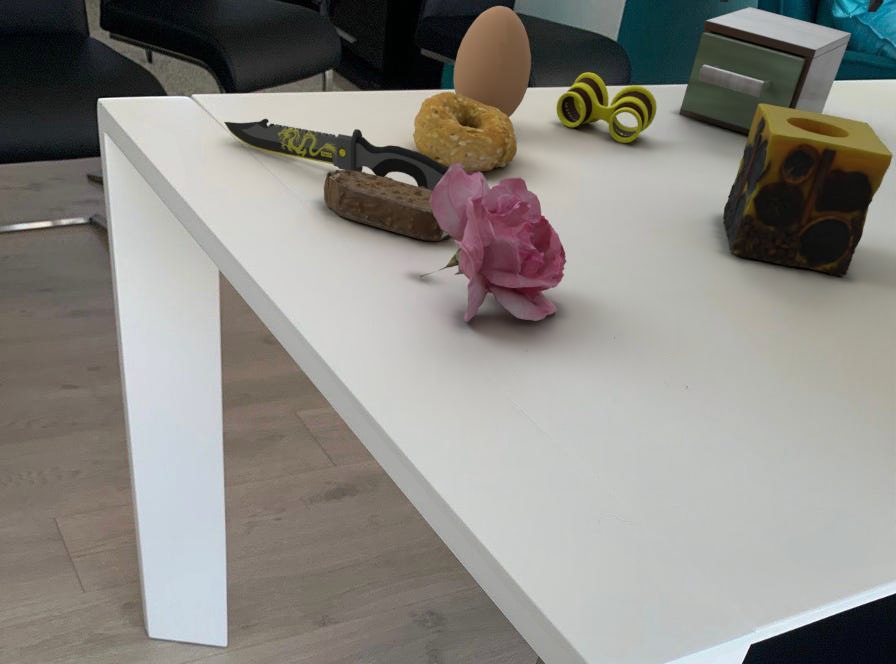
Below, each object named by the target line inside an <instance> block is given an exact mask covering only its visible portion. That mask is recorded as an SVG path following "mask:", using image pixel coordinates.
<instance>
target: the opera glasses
mask: <svg viewBox="0 0 896 664" xmlns="http://www.w3.org/2000/svg"><path fill="white" fill-rule="evenodd" d="M623 113H628V114H630V115H632V116H633V117H634V119H635V120H636V122H637V126H633V127H632V126H630V127H629V126H626V125H624V124H622V123H621V122H620V121H619V120H618V117H617V116H618V115H620V114H623ZM556 114H557V117H558V120H559V121H560V122H561V123H562V124H563V125H564V126H565V127H568V128H576V127H578V126H580V125H584V124H594V123H597V122H599V121H600V120H601V121H603V122H606V123H607V124H608V131H609V134H610V136H611V137H612V138H613V139H614V140H615V141H616V142H619V143H621V144H627V143H631V142H633V141H635V140H636V139H637V138H638V137H639V135H640V134H641V132H643V131H645V130H646V129H647V128H649V127H650V126H651V124H652V123H653V122H654V120H655V118H656V114H657V101H656V99H655V96H654V94H653V93H652V92H651V91H650V90H649V89H647V88H646V87H644V86H641V85H629V86H626V87H623V88H621V90H619V91H618V92H617V93H616V94H615V95H614V96H613V98H612V100H611V102H610V106H609V92H608V88H607V86H606V84H605V82H604V81H603V79H602V78H601V76H599V75H598V74H596V73H593V72H590V71H589V72H587V71H586V72H583V73H581V74H579V76H578V77H577V78H576V79H575V81H574V82H573V84H572V85H571V86H570V87H569V88H568V90H567V91H566V92H565V93H563V94H561V95H560V97H559V98H558V99H557V103H556Z"/></svg>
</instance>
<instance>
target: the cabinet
mask: <svg viewBox="0 0 896 664" xmlns="http://www.w3.org/2000/svg"><path fill="white" fill-rule="evenodd" d="M705 32H709V33H713V34H716V35H717V34H723V35H727V36H730V37H734V38H738V39H741V40H745V41H749V42H752V43H756V44H760V45H763V46H767V47H771V48H774V49H778V50H782V51H785V52H789V53H793V54H796V55H800V56H804V57H805V58H804V59H805V63H804V66H803V68H802V71H801V74H800V77H799V80H798V83H797V86H796V88H795V91H794V94H793V97H792V100H791V103H790V106H789V108H791V109H796V110H802V111H808V112H814V113H819V114H823V112H824V109H825V106H826V103H827V101H828V97H829V95H830V92H831V90H832V87H833V84H834V82H835V79H836V77H837V73H838V71H839V68H840V66H841V63H842V60H843V58H844V55H845V52H846V50H847V46H848V43H849V41H850V38H851V35H852V33H851V32H847V31H843V30H839V29H835V28H832V27H829V26H824V25H820V24H817V23H812V22H808V21H805V20H800V19H797V18H794V17H789V16H785V15H781V14H777V13H774V12H769V11H766V10H763V9H758V8H755V7H751V6H749V7H746V8H742V9H738V10H736V11H733V12H730V13H727V14H723V15H720V16H717V17H713V18H710V19H707V20H705V22H704V26H703V29H702V33H701V37H700V40H699V43H698V47H697V50H696V54H695V57H694V59H693V64H692V68H691V71H690V75H689V78H688V81H687V85H686V87H685V88H686V89H685V93H684V95H683V99H682V103H681V106H680V109H679V113H678V114H679V115H680V116H681V115H682V116H686V117H688V118H691V119H694V120H698V121H702V122H704V123H708V124H712V125H714V126H718V127H721V128H724V129H727V130H732V131H735V132H737V133H741V134H744V135H747V136H749V132H750V129H746V128H743V127H740V126H736V125H733V124H730V123H726V122H723V121H720V120H716V119H713V118H710V117H706V116H703V115H700V114H697V113H693V112H690V111H687V110H683V109H682V105H683V101H684V98H685V94H686V91H687V87H688V84H689V80H690V77H691V73H692V70H693V66H694V63H695V59H696V56H697V52H698V49H699V45H700V42H701V38H702V35H703V33H705Z"/></svg>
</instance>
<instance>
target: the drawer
mask: <svg viewBox="0 0 896 664" xmlns="http://www.w3.org/2000/svg"><path fill="white" fill-rule="evenodd" d="M701 36H702V38H701V37H700V39H701V42H700V41H699V43H700V45H699V44H698V46H699V49H698V48H697V50H698V52H697V51H696V53H697V56H696V55H695V57H696V59H695V58H694V60H695V63H694V62H693V64H694V66H693V65H692V67H693V70H692V69H691V71H692V73H691V72H690V74H691V77H690V76H689V78H690V80H689V79H688V81H689V84H688V83H687V85H688V87H687V86H686V88H687V91H686V90H685V92H686V94H685V93H684V95H685V98H684V97H683V99H684V101H683V100H682V102H683V105H682V104H681V106H682V109H683V110H687V111H690V112H693V113H697V114H700V115H703V116H706V117H710V118H713V119H716V120H720V121H723V122H726V123H730V124H733V125H736V126H740V127H743V128H746V129H751V125H752V122H753V119H754V116H755V113H756V110H757V107H758V104H769V105H774V106H779V107H785V108H789V106H790V103H791V100H792V97H793V94H794V91H795V88H796V86H797V83H798V80H799V77H800V74H801V71H802V68H803V66H804V63H805V59H804V58H805V57H804V56H800V55H796V54H793V53H789V52H785V51H782V50H778V49H774V48H771V47H767V46H763V45H760V44H756V43H752V42H749V41H745V40H741V39H738V38H734V37H730V36H727V35H723V34H717V35H716V34H713V33H709V32H705V33H703V35H702V34H701Z"/></svg>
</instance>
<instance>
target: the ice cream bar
mask: <svg viewBox="0 0 896 664" xmlns="http://www.w3.org/2000/svg"><path fill="white" fill-rule="evenodd" d="M432 192H433V191H432V190H429V189H426V188H425V187H424V186H421V187H418V185H413V184H410V183H406V182H404V181H400V180H396V179H395V180H394V178H392V177H388V176H385V177H381V176H377V175H375V174H374V173H373V174H372V173H368V172H365V171H362V172H357V171H350V170H343V169H336V170H335V171H328V172H327V173H326V177H325V181H324V186H323V200H324V203H325V205H327V208H328V209H331V210H332V211H334V212H335V213H336V214H338V216H341V217H342V218H345V219H348V220H351V221H354V222H358V223H361V224H364V225H368V226H371V227H374V228H378V229H382V230H386V231H389V232H393V233H396V234H399V235H403V236H407V237H410V238H414V239H417V240H423V241H430V242H442V241H443V240H446V239H447V238H450V237H451V236H450V235H449V234H447V233H446V232H444V231H443V230H441V229H440V227H439V224H438V222H437V220H436V218H435V216H434V215H433V211H432V208H431V205H430V203H429V200H430V197H431V194H432Z"/></svg>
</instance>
